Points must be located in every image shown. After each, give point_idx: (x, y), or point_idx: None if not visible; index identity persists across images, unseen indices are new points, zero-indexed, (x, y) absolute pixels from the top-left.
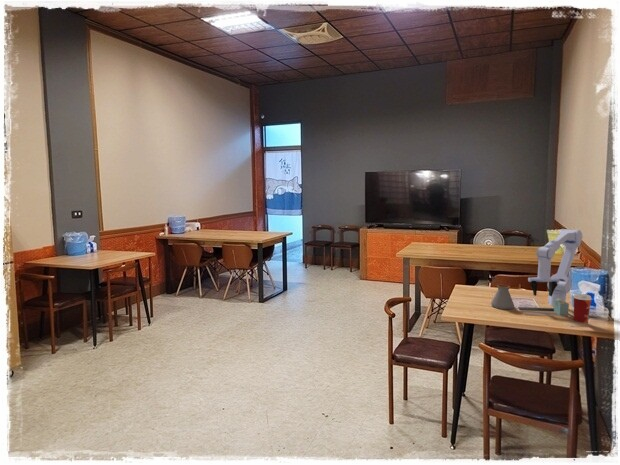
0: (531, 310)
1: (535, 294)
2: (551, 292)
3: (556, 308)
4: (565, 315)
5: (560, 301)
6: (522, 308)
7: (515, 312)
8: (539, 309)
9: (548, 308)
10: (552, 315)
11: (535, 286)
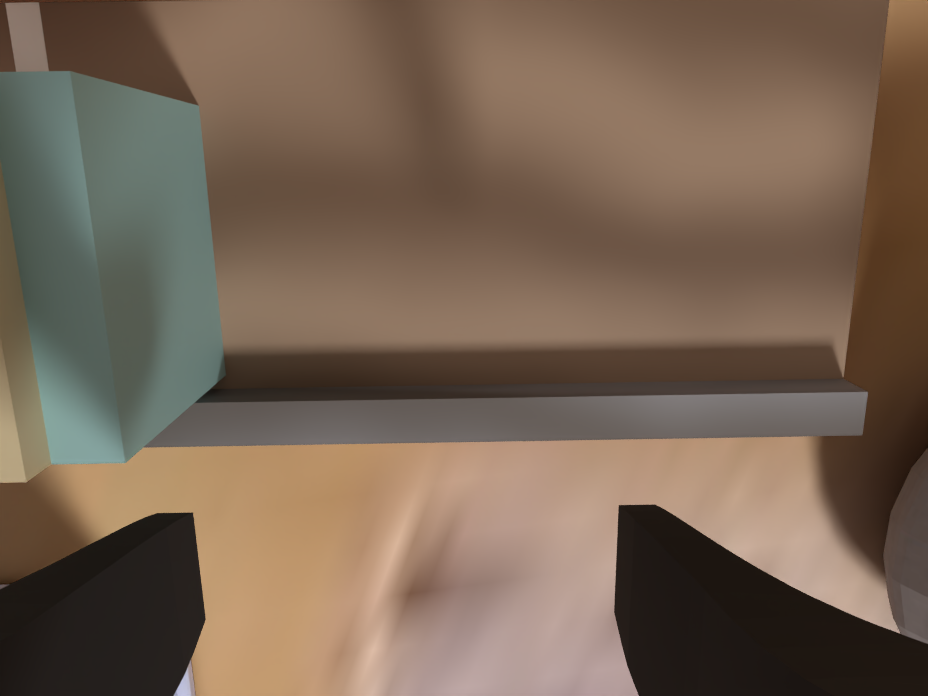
0: (631, 355)
1: (660, 515)
2: (119, 552)
3: (181, 275)
4: None
5: (9, 268)
6: (796, 386)
7: (877, 355)
8: (478, 389)
9: (307, 402)
10: (348, 60)
11: (870, 659)
